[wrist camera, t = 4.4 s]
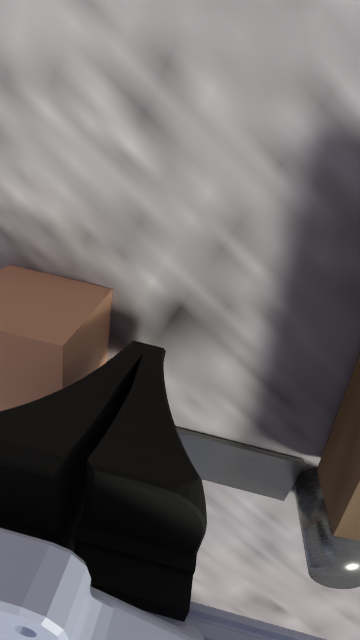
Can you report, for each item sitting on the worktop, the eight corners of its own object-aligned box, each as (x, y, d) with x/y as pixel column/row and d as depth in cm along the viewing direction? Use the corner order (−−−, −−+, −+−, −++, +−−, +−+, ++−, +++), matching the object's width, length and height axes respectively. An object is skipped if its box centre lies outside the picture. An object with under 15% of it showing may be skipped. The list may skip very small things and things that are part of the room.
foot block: (105, 372, 16) (61, 448, 12) (17, 350, 16) (-56, 417, 12) (113, 288, 13) (62, 346, 9) (10, 264, 14) (-82, 310, 10)
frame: (324, 513, 18) (346, 603, 14) (-3, 427, 19) (-59, 492, 15) (353, 472, 16) (386, 563, 12) (-10, 380, 17) (-74, 440, 13)
